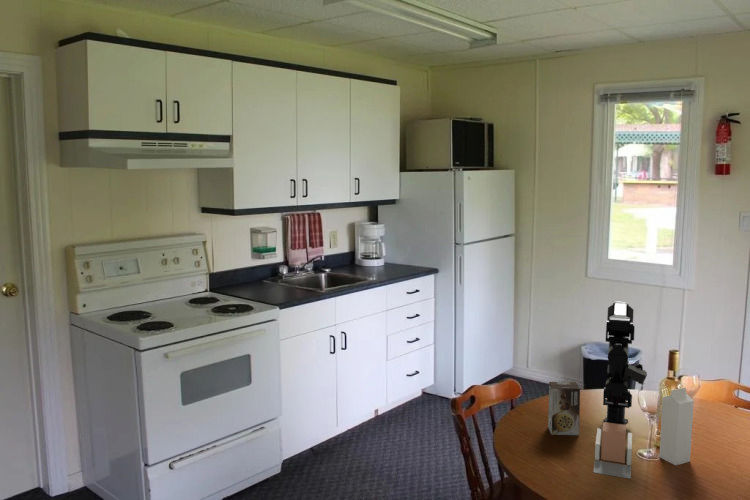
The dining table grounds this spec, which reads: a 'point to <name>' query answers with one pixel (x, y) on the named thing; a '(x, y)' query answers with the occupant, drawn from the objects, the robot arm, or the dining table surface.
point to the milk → (676, 427)
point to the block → (613, 442)
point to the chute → (613, 468)
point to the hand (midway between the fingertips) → (615, 404)
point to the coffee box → (564, 408)
